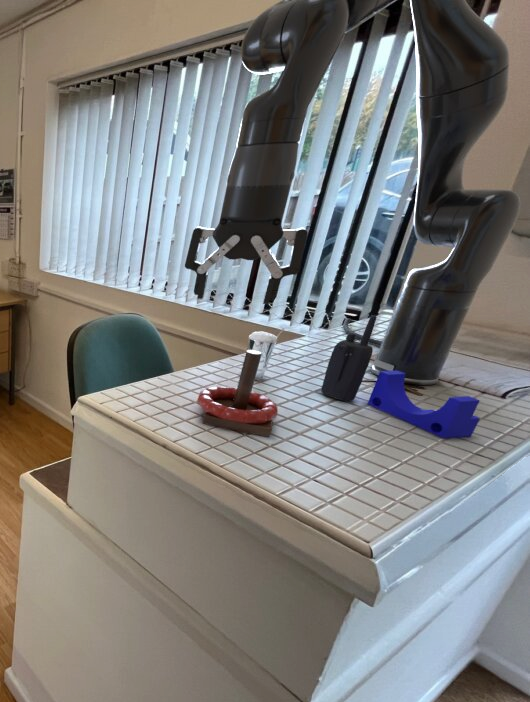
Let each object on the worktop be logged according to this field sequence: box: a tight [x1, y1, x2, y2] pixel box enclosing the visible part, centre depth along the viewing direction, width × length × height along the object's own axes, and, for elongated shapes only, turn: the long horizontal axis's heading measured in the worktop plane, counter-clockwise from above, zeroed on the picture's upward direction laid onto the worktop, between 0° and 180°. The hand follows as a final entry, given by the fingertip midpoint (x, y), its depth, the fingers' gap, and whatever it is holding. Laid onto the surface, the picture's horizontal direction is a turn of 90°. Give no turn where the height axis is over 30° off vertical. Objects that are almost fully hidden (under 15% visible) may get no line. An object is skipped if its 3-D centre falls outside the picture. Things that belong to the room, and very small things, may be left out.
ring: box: [196, 386, 278, 423], centre depth 74 cm, size 11×11×2 cm
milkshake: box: [246, 327, 285, 381], centre depth 88 cm, size 4×5×10 cm
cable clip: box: [367, 370, 481, 439], centre depth 72 cm, size 12×4×6 cm, turn 5°
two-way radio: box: [320, 314, 378, 402], centre depth 78 cm, size 6×4×15 cm
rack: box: [202, 350, 273, 438], centre depth 72 cm, size 9×9×12 cm
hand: (231, 300), depth 69 cm, fingers open, 8 cm apart
